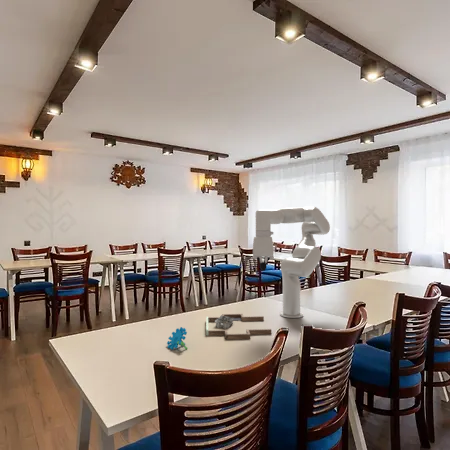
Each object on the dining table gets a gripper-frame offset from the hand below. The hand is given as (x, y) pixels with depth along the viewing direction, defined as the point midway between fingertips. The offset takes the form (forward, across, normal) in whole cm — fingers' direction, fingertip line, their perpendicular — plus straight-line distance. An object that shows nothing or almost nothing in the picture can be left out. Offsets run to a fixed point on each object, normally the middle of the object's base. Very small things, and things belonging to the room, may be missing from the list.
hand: (263, 270), depth 171 cm
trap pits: (+27, +14, +5) cm, 31 cm away
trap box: (+27, +14, +5) cm, 31 cm away
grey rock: (+28, +20, +1) cm, 34 cm away
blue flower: (+27, +41, +30) cm, 57 cm away
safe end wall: (+27, +28, +5) cm, 40 cm away
